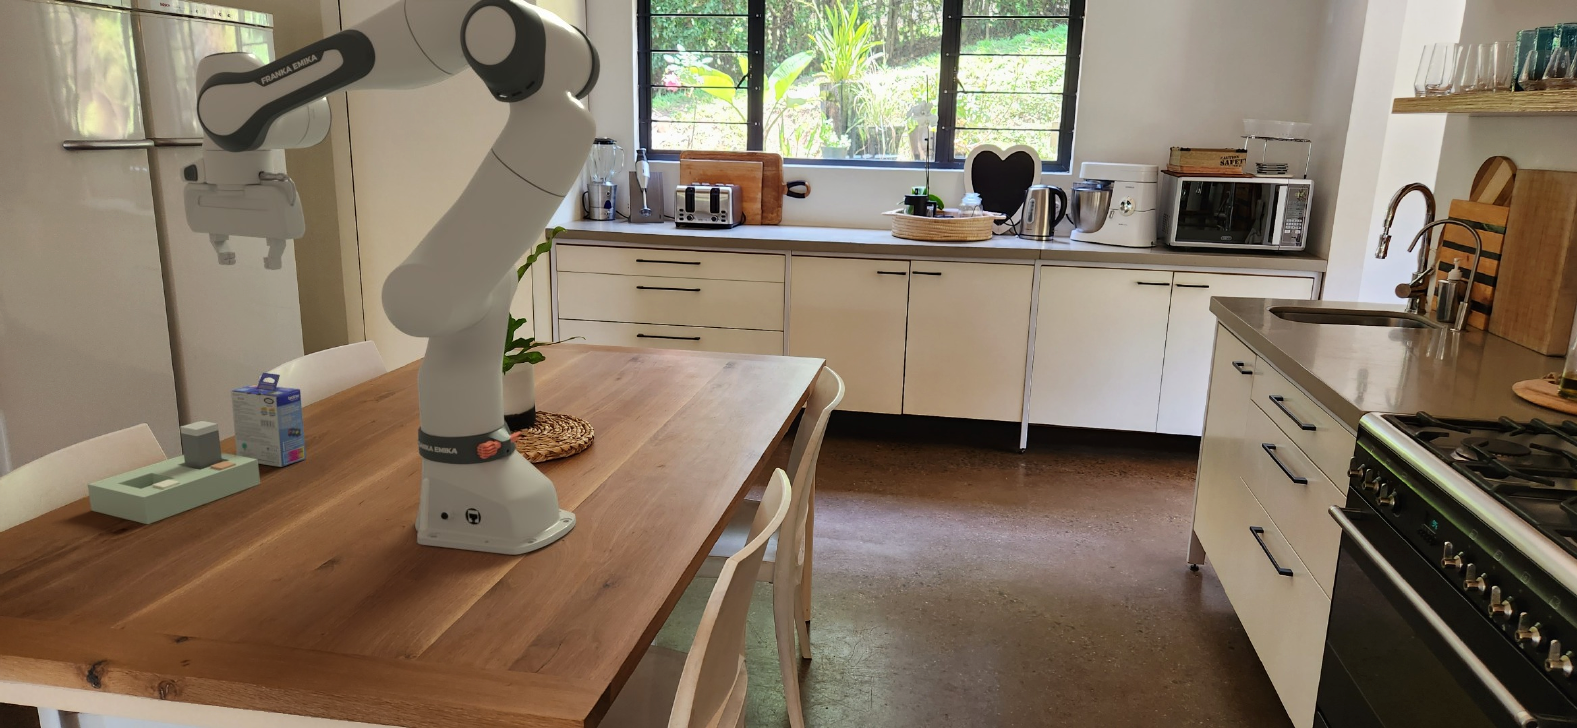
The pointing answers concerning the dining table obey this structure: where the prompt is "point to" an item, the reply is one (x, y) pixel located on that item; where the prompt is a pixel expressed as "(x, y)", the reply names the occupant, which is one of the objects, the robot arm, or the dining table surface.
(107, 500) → the socket board
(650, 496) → the dining table surface
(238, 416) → the ink cartridge box
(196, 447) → the plug
